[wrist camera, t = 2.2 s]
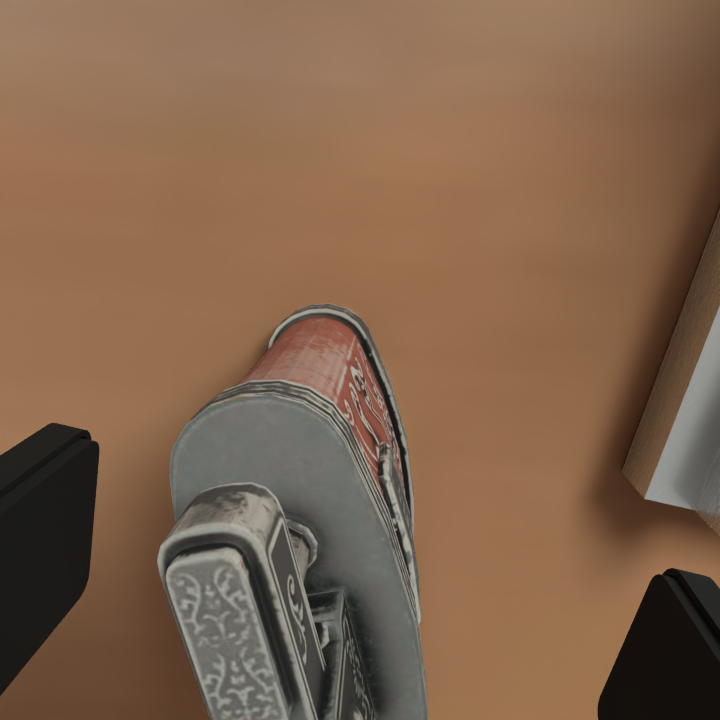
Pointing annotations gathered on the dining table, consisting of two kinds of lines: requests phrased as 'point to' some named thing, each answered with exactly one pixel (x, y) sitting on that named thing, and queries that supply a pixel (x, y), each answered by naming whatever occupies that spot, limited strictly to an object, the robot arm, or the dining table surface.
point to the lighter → (299, 535)
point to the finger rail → (686, 405)
